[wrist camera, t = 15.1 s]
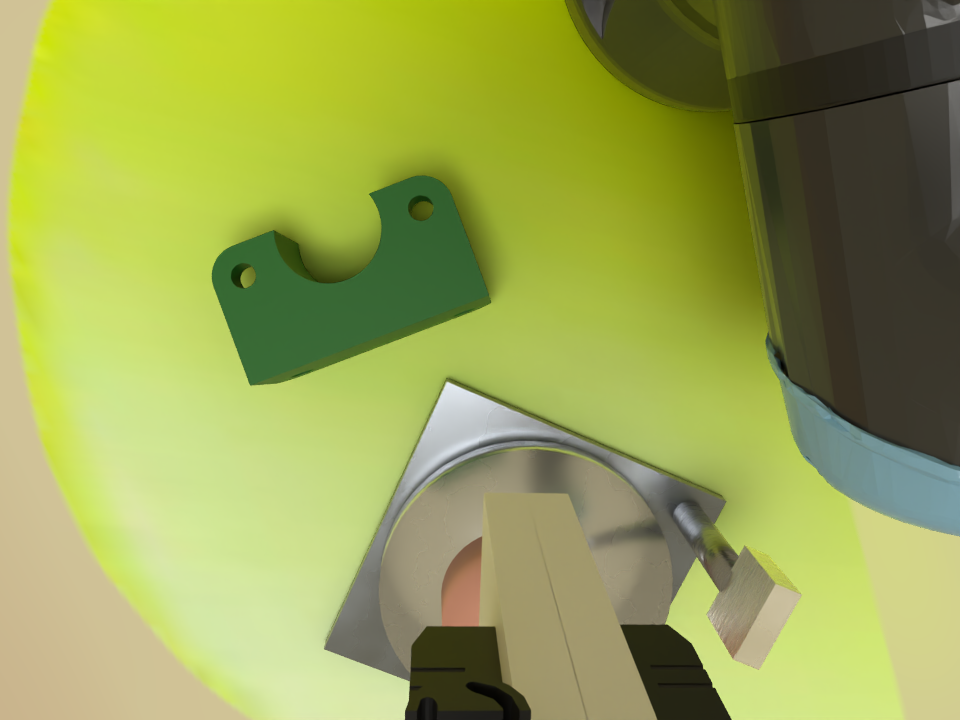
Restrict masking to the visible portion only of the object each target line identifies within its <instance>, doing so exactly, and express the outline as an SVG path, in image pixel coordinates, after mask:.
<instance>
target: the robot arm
mask: <svg viewBox="0 0 960 720" xmlns="http://www.w3.org/2000/svg"><path fill="white" fill-rule="evenodd" d="M565 2H566V5H567V8H568V11H569V13H570V16H571V18H572V20H573V22H574V24H575V26H576V28H577V30H578V32H579V34H580V35H581V37H582V39H583V41H584V42H585V44H586V45H587V46H588V48H589V49H590V51H591V52H592V53H593V55H594V56H595V57H596V58H597V59H598V61H599V62H600V63H601V64H602V65H603V66H604V67H605V68H606V69H607V70H608V71H609V72H610V73H611V74H612V75H613V76H615V77H616V78H617V79H618V80H620V81H621V82H622V83H623V84H625V85H626V86H628V87H629V88H631V89H632V90H634V91H635V92H637V93H639V94H641V95H643V96H645V97H647V98H649V99H651V100H653V101H656V102H658V103H661V104H664V105H667V106H671V107H674V108H678V109H684V110H689V111H699V112H721V111H730V110H732V112H733V117H734V124H733V125H734V130H735V136H736V142H737V148H738V154H739V160H740V166H741V172H742V178H743V184H744V190H745V196H746V202H747V207H748V213H749V219H750V225H751V231H752V237H753V243H754V249H755V255H756V261H757V267H758V273H759V278H760V284H761V290H762V296H763V302H764V308H765V314H766V320H767V326H768V335H767V338H766V349H767V355H768V359H769V361H770V364H771V366H772V369H773V371H774V372H775V374H776V375H777V377H778V378H779V380H780V384H781V388H782V393H783V397H784V401H785V406H786V410H787V414H788V419H789V423H790V427H791V432H792V435H793V438H794V440H795V442H796V444H797V446H798V448H799V450H800V452H801V454H802V455H803V457H804V458H805V459H806V460H807V461H808V462H809V463H810V464H811V465H813V466H814V467H815V468H816V469H817V470H818V472H819V474H820V475H821V476H823V477H824V479H825V480H826V481H827V482H828V483H829V484H830V485H831V486H832V487H834V488H835V489H836V490H838V491H839V492H841V493H843V494H844V495H846V496H847V497H849V498H851V499H852V500H854V501H856V502H858V503H860V504H862V505H864V506H865V507H867V508H870V509H872V510H874V511H876V512H879V513H881V514H883V515H886V516H888V517H891V518H893V519H896V520H899V521H902V522H905V523H908V524H912V525H915V526H918V527H922V528H925V529H929V530H933V531H937V532H942V533H946V534H951V535H956V536H960V0H565ZM405 720H731V718H730V716H729V714H728V712H727V710H726V708H725V706H724V704H723V703H722V701H721V699H720V697H719V695H718V693H717V691H716V689H715V688H713V687H712V682H711V680H710V678H709V676H708V674H707V672H706V670H703V665H702V663H701V661H700V659H699V657H698V655H697V653H696V651H695V649H694V647H693V646H692V644H691V643H690V642H689V641H688V640H686V639H685V638H684V637H683V636H681V635H680V634H679V633H678V632H676V631H675V630H674V629H672V628H671V627H670V626H669V625H647V624H619V622H618V619H617V617H616V614H615V611H614V609H613V606H612V604H611V601H610V599H609V596H608V594H607V591H606V589H605V586H604V584H603V581H602V579H601V576H600V574H599V571H598V568H597V566H596V563H595V561H594V558H593V556H592V553H591V551H590V548H589V546H588V543H587V541H586V538H585V536H584V533H583V531H582V528H581V525H580V523H579V520H578V518H577V515H576V513H575V510H574V508H573V505H572V503H571V500H570V498H569V495H568V494H557V493H484V500H483V528H482V556H481V584H480V611H479V626H427V627H426V628H425V629H424V630H423V632H422V633H421V634H420V635H419V637H418V638H417V639H416V640H415V642H414V643H413V644H412V646H411V668H410V691H409V702H408V705H407V708H406V710H405Z"/></svg>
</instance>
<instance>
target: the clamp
mask: <svg viewBox="0 0 960 720" xmlns="http://www.w3.org/2000/svg"><path fill="white" fill-rule="evenodd" d="M369 195H370V196H371V197H372V199H373V200H374V202H375V204H376V206H377V208H378V211H379V214H380V218H381V225H382V233H381V240H380V244H379V247H378V250H377V252H376V254H375V256H374V258H373V259H372V261H371V262H370V263H369V264H368V265H367V267H366V268H365V269H363V270H362V271H361V272H360V273H358V274H357V275H355V276H354V277H352V278H350V279H348V280H345V281H342V282H337V283H318V282H317V281H316V280H314V279H313V278H312V277H311V275H310V274H309V273H308V272H307V270H306V268H305V267H304V265H303V262H302V260H301V257H300V252H299V246H298V244H297V243H295V242H294V241H292V240H290V239H288V238H287V237H285V236H283V235H281V234H280V233H278V232H276V231H274V230H273V231H270V232H268V233H265V234H263V235H260V236H257V237H255V238H252V239H249V240H247V241H244V242H242V243H239V244H236V245H234V246H231V247H229V248H227V249H226V250H224V251H223V252H222V253H221V254H220V255H219V256H218V258H217V259H216V261H215V263H214V266H213V270H212V282H213V286H214V289H215V292H216V294H217V297H218V300H219V302H220V305H221V308H222V310H223V313H224V316H225V319H226V321H227V324H228V327H229V329H230V332H231V335H232V338H233V340H234V343H235V346H236V348H237V351H238V354H239V356H240V359H241V362H242V365H243V367H244V370H245V373H246V375H247V378H248V381H249V384H250V385H263V384H276V383H281V382H284V381H288V380H291V379H294V378H297V377H300V376H302V375H305V374H308V373H311V372H313V371H316V370H319V369H321V368H324V367H326V366H329V365H332V364H334V363H337V362H340V361H342V360H345V359H348V358H350V357H353V356H356V355H358V354H361V353H364V352H366V351H369V350H372V349H374V348H377V347H379V346H382V345H385V344H387V343H390V342H393V341H395V340H398V339H401V338H403V337H406V336H409V335H411V334H414V333H417V332H419V331H422V330H425V329H427V328H430V327H432V326H435V325H438V324H440V323H443V322H446V321H448V320H451V319H454V318H456V317H459V316H462V315H464V314H467V313H469V312H472V311H474V310H477V309H479V308H482V307H484V306H486V305H488V304H490V303H491V300H490V297H489V294H488V291H487V288H486V286H485V283H484V280H483V278H482V275H481V272H480V270H479V267H478V264H477V262H476V259H475V256H474V254H473V251H472V248H471V246H470V243H469V240H468V238H467V235H466V232H465V230H464V227H463V224H462V222H461V219H460V216H459V214H458V211H457V209H456V206H455V203H454V201H453V198H452V195H451V193H450V191H449V190H448V188H447V187H446V186H445V185H444V184H443V183H442V182H441V181H439V180H437V179H435V178H433V177H429V176H415V177H411V178H409V179H406V180H403V181H401V182H398V183H396V184H393V185H390V186H388V187H385V188H383V189H380V190H377V191H375V192H372V193H370V194H369ZM421 201H427V202H430V203H431V204H432V205H433V207H434V208H433V213H432V215H431V216H430V217H429V218H428V219H426V220H424V221H417V220H415V219H413V218H412V209H413V207H414V206H415V204H417V203H418V202H421ZM248 267H253V268H254V270H255V272H256V279H255V282H254V283H253V285H252V286H250V287H248V288H244V287H243V286H242V284H241V280H240V278H241V274H242V272H243V271H244V270H245V269H246V268H248Z"/></svg>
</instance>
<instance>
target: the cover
mask: <svg viewBox="0 0 960 720" xmlns="http://www.w3.org/2000/svg"><path fill="white" fill-rule="evenodd" d="M481 556H482V536H481V537H479V538H477V539H476V540H474V541H472V542H471V543H469V544H468V545H467V546H465V547H464V548H463V549H462V550H461V551H460V552H459V553H458V554H457V555H456V556H455V558H454V559H453V560H452V562H451V563H450V565H449V567H448V569H447V571H446V573H445V576H444V579H443V583H442V590H441V607H442V626H479V611H480V584H481Z"/></svg>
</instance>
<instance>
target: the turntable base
mask: <svg viewBox="0 0 960 720" xmlns="http://www.w3.org/2000/svg"><path fill="white" fill-rule="evenodd" d="M512 441H542V442H551V443H557V444H561V445H565V446H569V447H573V448H576V449H578V450H581V451H583V452H586V453H589V454H591V455H593V456H595V457H596V458H598V459H600V460H602V461H604V462H606V463H607V464H608V465H610V466H611V467H612V468H614V469H615V470H617V471H618V472H619V473H621V474H622V475H623V476H624V477H625V478H626V479H627V480H628V481H629V482H630V483H631V484H632V485H633V486H634V487H635V489H636V490H637V491H638V492H639V494H640V495H641V496H642V498H643V499H644V500H645V502H646V503H647V505H648V507H649V508H650V510H651V512H652V513H653V515H654V517H655V519H656V520H657V522H658V524H659V526H660V527H661V530H662V532H663V535H664V537H665V540H666V542H667V546H668V550H669V554H670V558H671V565H672V576H673V583H672V598H671V603H672V601H673V599H674V597H675V596H676V594H677V592H678V590H679V588H680V586H681V585H682V583H683V581H684V579H685V577H686V575H687V573H688V572H689V570H690V568H691V566H692V564H693V562H694V560H695V559H696V557H697V558H698V559H699V561H700V562H701V564H702V565H703V567H704V568H705V570H706V571H707V573H708V574H709V576H710V577H711V579H712V581H713V582H714V584H715V585H716V587H717V588H718V590H719V593H718V595H717V597H716V599H715V600H714V602H713V604H712V606H711V608H710V609H709V611H708V613H707V616H708V618H709V620H710V621H711V623H712V625H713V626H714V628H715V630H716V631H717V633H718V635H719V636H720V638H721V640H722V641H723V643H724V645H725V647H726V648H727V650H728V652H729V653H730V655H731V657H732V658H733V660H736V661H738V662H741V663H743V664H746V665H748V666H751V667H753V668H756V669H758V670H759V669H760V667H761V665H762V664H763V662H764V660H765V658H766V657H767V655H768V653H769V651H770V650H771V648H772V646H773V644H774V643H775V641H776V639H777V637H778V636H779V634H780V632H781V630H782V629H783V627H784V625H785V623H786V622H787V620H788V618H789V616H790V615H791V613H792V611H793V609H794V608H795V606H796V604H797V602H798V601H799V599H800V597H801V595H802V594H801V593H800V592H799V591H798V590H797V588H796V587H795V586H794V585H793V584H792V583H791V581H790V580H789V579H788V578H787V577H786V575H785V574H784V573H783V572H782V571H781V569H780V568H779V567H778V566H777V565H776V563H775V562H774V561H773V560H772V559H771V557H770V556H769V555H767V554H764V553H762V552H760V551H757V550H755V549H753V548H750V547H748V546H744V548H743V549H742V551H741V553H740V555H739V556H738V555H737V554H736V552H735V551H734V550H733V549H732V547H731V546H730V545H729V543H728V542H727V541H726V539H725V538H724V537H723V535H722V534H721V533H720V531H719V530H718V529H717V528H716V526H715V525H714V523H715V522H716V520H717V518H718V516H719V514H720V512H721V510H722V509H723V507H724V505H725V503H726V501H725V499H724V498H723V497H722V496H721V495H718V494H716V493H714V492H711V491H709V490H707V489H704V488H702V487H700V486H697V485H695V484H693V483H690V482H688V481H686V480H683V479H681V478H679V477H676V476H674V475H672V474H669V473H667V472H665V471H663V470H660V469H658V468H656V467H653V466H651V465H649V464H646V463H644V462H642V461H639V460H637V459H635V458H632V457H630V456H628V455H625V454H623V453H621V452H618V451H616V450H614V449H611V448H609V447H607V446H604V445H602V444H600V443H597V442H595V441H593V440H590V439H588V438H586V437H583V436H581V435H579V434H576V433H574V432H572V431H569V430H567V429H565V428H562V427H560V426H558V425H555V424H553V423H551V422H548V421H546V420H544V419H541V418H539V417H537V416H534V415H532V414H530V413H527V412H525V411H523V410H520V409H518V408H516V407H513V406H511V405H509V404H506V403H504V402H502V401H499V400H497V399H495V398H492V397H490V396H488V395H485V394H483V393H481V392H478V391H476V390H474V389H471V388H469V387H467V386H464V385H462V384H460V383H457V382H455V381H453V380H450V379H448V378H446V381H445V383H444V385H443V387H442V389H441V392H440V394H439V396H438V398H437V400H436V402H435V405H434V407H433V409H432V411H431V413H430V415H429V418H428V420H427V422H426V424H425V426H424V428H423V431H422V433H421V435H420V437H419V439H418V442H417V444H416V446H415V448H414V450H413V452H412V455H411V457H410V459H409V461H408V463H407V465H406V468H405V470H404V472H403V474H402V476H401V478H400V481H399V483H398V485H397V487H396V489H395V492H394V494H393V496H392V498H391V500H390V502H389V505H388V507H387V509H386V511H385V513H384V515H383V518H382V520H381V522H380V524H379V526H378V528H377V531H376V533H375V535H374V537H373V539H372V541H371V544H370V546H369V548H368V550H367V552H366V555H365V557H364V559H363V561H362V563H361V565H360V568H359V570H358V572H357V574H356V576H355V578H354V581H353V583H352V585H351V587H350V589H349V591H348V594H347V596H346V598H345V600H344V602H343V605H342V607H341V609H340V611H339V613H338V615H337V618H336V620H335V622H334V624H333V626H332V628H331V631H330V633H329V635H328V637H327V639H326V642H325V646H324V649H325V650H328V651H331V652H333V653H336V654H339V655H341V656H344V657H347V658H349V659H352V660H355V661H357V662H360V663H363V664H365V665H368V666H371V667H373V668H376V669H379V670H381V671H384V672H387V673H389V674H392V675H395V676H397V677H400V678H403V679H405V680H408V681H410V673H409V672H408V670H407V669H406V668H405V667H404V665H403V664H402V662H401V661H400V659H399V658H398V656H397V655H396V653H395V651H394V649H393V647H392V645H391V643H390V641H389V639H388V637H387V634H386V630H385V627H384V624H383V621H382V616H381V610H380V604H379V581H380V572H381V564H382V556H383V551H384V547H385V544H386V540H387V536H388V534H389V532H390V529H391V527H392V524H393V522H394V520H395V518H396V516H397V515H398V513H399V511H400V510H401V508H402V506H403V505H404V503H405V502H406V501H407V499H408V498H409V497H410V496H411V494H412V493H413V492H414V491H415V490H416V489H417V488H418V487H419V486H420V485H421V484H422V483H423V482H424V481H425V480H426V479H427V478H428V477H429V476H430V475H432V474H433V473H434V472H436V471H437V470H438V469H440V468H441V467H442V466H444V465H446V464H447V463H449V462H451V461H453V460H454V459H456V458H458V457H460V456H462V455H464V454H467V453H469V452H472V451H474V450H476V449H479V448H483V447H487V446H490V445H494V444H499V443H506V442H512ZM671 603H670V605H671Z"/></svg>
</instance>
